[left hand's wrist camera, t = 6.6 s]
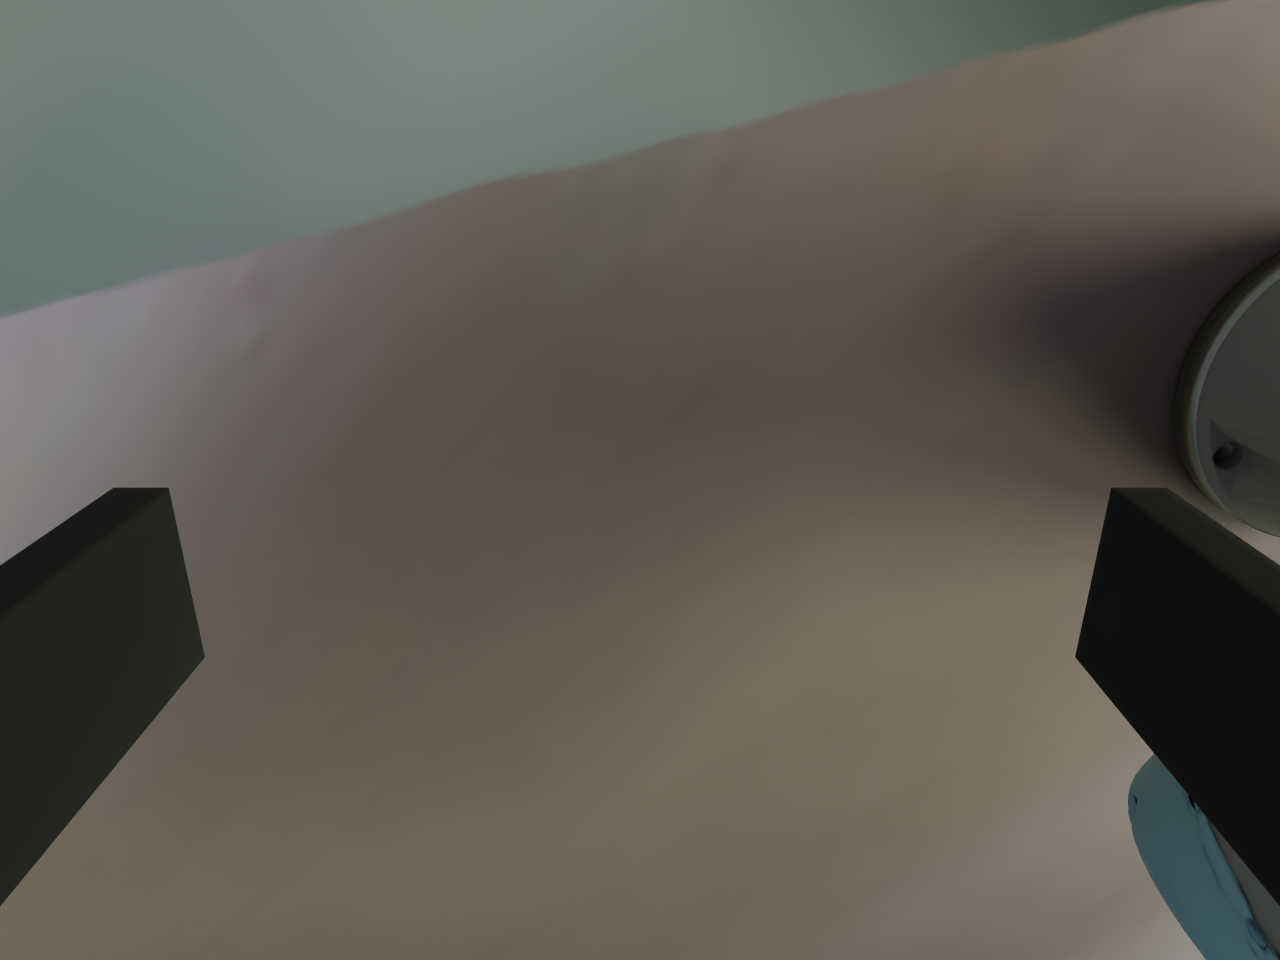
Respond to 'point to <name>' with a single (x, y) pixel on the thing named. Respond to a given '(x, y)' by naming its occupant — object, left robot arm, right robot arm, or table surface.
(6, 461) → the table surface
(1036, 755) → the table surface
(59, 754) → the left robot arm
